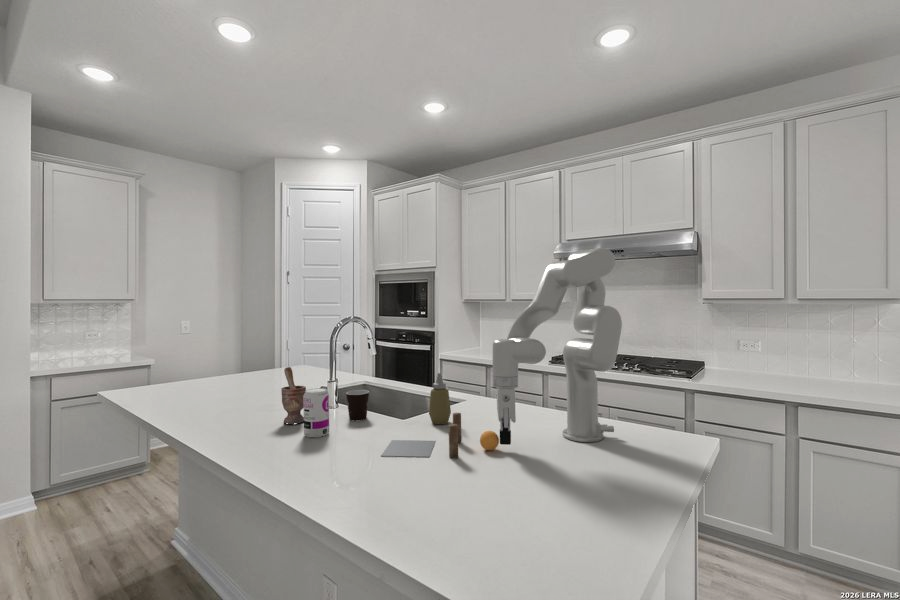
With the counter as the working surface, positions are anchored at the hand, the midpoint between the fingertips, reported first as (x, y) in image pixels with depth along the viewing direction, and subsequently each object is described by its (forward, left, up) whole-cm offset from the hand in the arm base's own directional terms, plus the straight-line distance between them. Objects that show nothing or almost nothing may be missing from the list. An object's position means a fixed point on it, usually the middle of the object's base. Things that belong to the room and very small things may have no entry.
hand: (505, 443), depth 128 cm
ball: (+5, 0, +1) cm, 5 cm away
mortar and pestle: (+79, -27, -2) cm, 83 cm away
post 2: (+15, +6, -2) cm, 16 cm away
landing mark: (+29, 0, -2) cm, 29 cm away
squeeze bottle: (+23, -28, -2) cm, 36 cm away
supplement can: (+63, -12, -2) cm, 64 cm away
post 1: (+15, -7, -2) cm, 16 cm away
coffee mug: (+55, -34, -2) cm, 65 cm away
